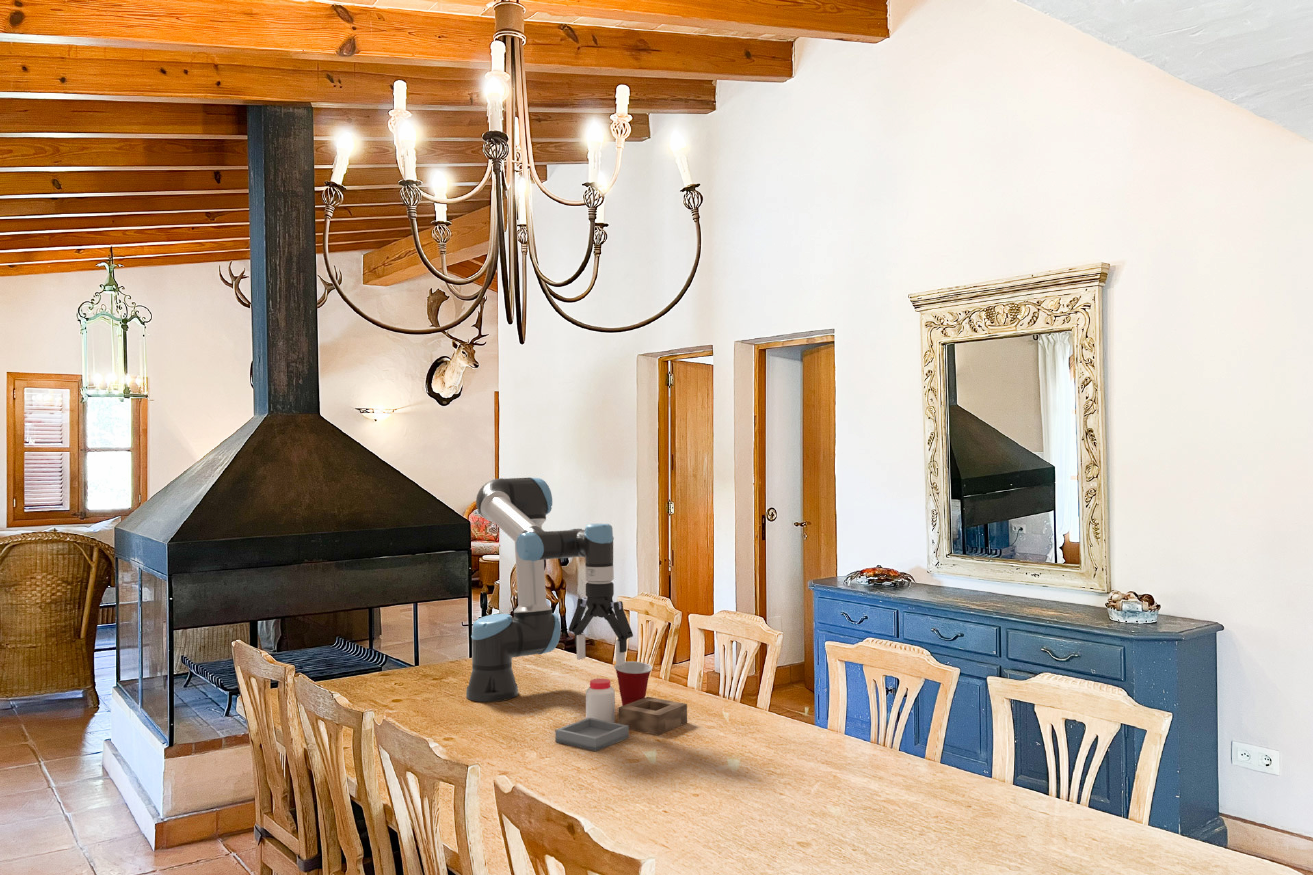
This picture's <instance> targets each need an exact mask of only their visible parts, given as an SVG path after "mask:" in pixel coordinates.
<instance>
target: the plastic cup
mask: <svg viewBox="0 0 1313 875" xmlns="http://www.w3.org/2000/svg"><path fill="white" fill-rule="evenodd" d="M613 667H614V669H615V672H616V677H617V683H618V688H619V696H620V699H621V706H624V705H626V704H629V703H632V702H635V701H637V700H640V699H643V698H646V697H647V696H646V694H647V688H648V683H649V678H650V674H651V672H652V671H653V666H652V665H651V664H649V663H645V662H641V661H633V660H632V661H625V664H622V665H619V666H618V665H616V663H615V664H614V666H613Z"/></svg>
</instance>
